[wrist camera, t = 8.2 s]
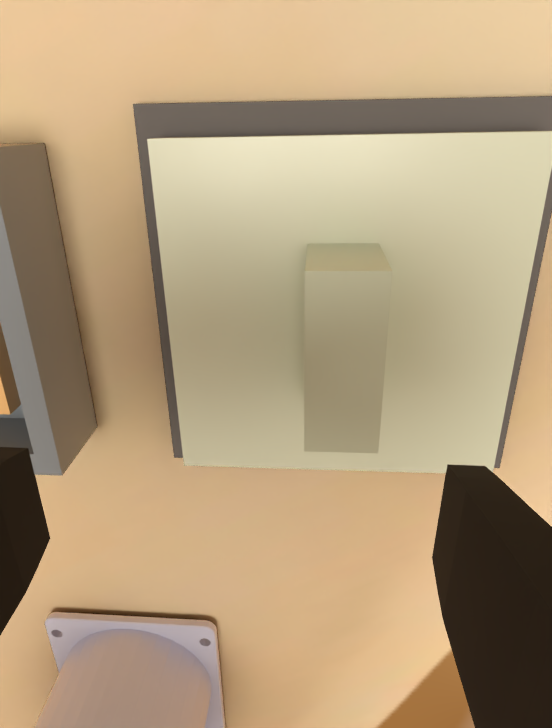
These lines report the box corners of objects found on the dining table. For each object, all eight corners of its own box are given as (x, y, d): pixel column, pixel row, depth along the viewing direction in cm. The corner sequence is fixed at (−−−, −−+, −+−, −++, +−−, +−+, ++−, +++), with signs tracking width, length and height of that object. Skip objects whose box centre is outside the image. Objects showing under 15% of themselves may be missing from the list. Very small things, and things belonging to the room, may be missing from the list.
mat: (496, 461, 19) (499, 467, 19) (176, 451, 20) (174, 457, 20) (568, 96, 14) (575, 95, 14) (137, 104, 15) (133, 104, 15)
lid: (482, 454, 19) (523, 539, 15) (191, 446, 19) (160, 525, 16) (540, 130, 14) (621, 133, 10) (159, 137, 15) (105, 142, 11)
